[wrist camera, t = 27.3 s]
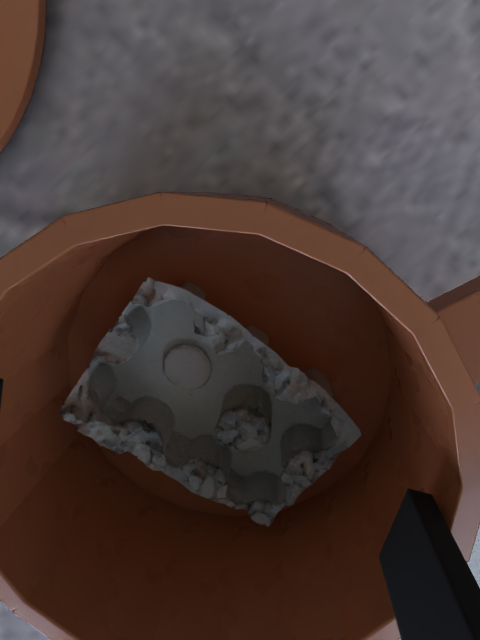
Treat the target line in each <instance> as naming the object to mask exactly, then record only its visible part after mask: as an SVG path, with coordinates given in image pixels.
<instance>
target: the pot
mask: <svg viewBox="0 0 480 640" xmlns="http://www.w3.org/2000/svg"><path fill="white" fill-rule="evenodd" d="M148 278H151V279H153V280H155V281H159V282H162V283H166V284H170V285H174V286H177V287H181V286H182V285H183V284H184V283H185V282H189V283H191V284H194V285H196V286H198V287H199V288H200V289H201V290H202V291H203V292H204V293H205V294H206V296H205V299H204V301H206V302H208V303H209V304H211V305H213V306H215V307H216V308H218V309H220V310H221V311H223V312H225V313H227V314H228V315H230V316H231V317H232V318H234V319H235V320H236V321H237V322H238V323H240V324H241V325H242V326H243V327H244V328H246V327H248V326H250V325H253V326H255V327H257V328H258V329H259V330H261V331H263V332H264V333H265V334H266V335H267V336H268V337H269V341H268V347H269V348H271V349H272V350H273V351H275V352H276V353H277V354H278V355H279V356H280V357H281V358H282V359H283V361H284V362H285V363H286V364H287V365H288V366H290V367H294V368H298V369H300V370H301V371H303V372H305V371H306V370H308V369H310V368H315V369H317V370H318V371H320V372H321V373H323V374H324V375H326V376H327V377H328V378H329V381H330V383H331V388H332V392H333V395H334V401H335V402H336V403H338V404H339V406H340V407H341V408H342V409H343V410H344V411H345V412H346V413H347V414H348V416H349V417H350V418H351V419H352V421H353V422H354V423H355V424H356V426H357V427H358V428H359V430H360V432H361V434H362V435H361V436H360V437H359V438H358V439H357V440H356V441H355V442H354V443H353V444H352V445H351V446H350V447H349V448H348V449H346V450H344V451H342V452H340V453H339V454H338V456H337V458H336V459H335V461H334V463H333V464H332V466H331V468H330V469H329V470H327V471H326V472H325V473H323V474H322V475H321V476H319V477H318V478H317V479H316V481H315V482H314V483H313V484H312V486H309V487H307V488H306V489H304V490H303V491H302V493H301V494H300V495H299V496H298V498H297V499H296V501H295V502H294V504H293V505H291V506H290V507H288V506H287V505H286V506H284V507H283V508H282V509H281V510H280V511H279V512H278V513H277V515H276V516H275V518H274V521H273V522H272V523H271V525H270V526H269V527H268V526H266V525H260V524H258V523H256V522H255V521H253V520H252V519H251V517H250V515H249V513H248V511H247V510H244V509H234V508H231V507H229V506H227V505H226V504H224V503H219V502H215V501H212V500H210V499H207V498H205V497H202V496H200V495H197V494H194V493H192V492H191V491H190V490H188V489H187V488H186V487H185V486H184V485H183V484H181V483H180V482H179V481H177V480H175V479H173V478H171V477H169V476H168V475H166V474H165V473H163V472H162V471H153V470H152V469H150V468H149V467H147V466H146V465H145V464H144V463H143V462H142V461H141V460H140V459H138V458H137V457H136V456H135V455H133V454H132V453H130V452H128V451H126V452H124V453H121V454H118V453H117V452H115V451H113V450H110V449H108V448H106V447H104V446H101V445H99V444H98V443H97V442H96V441H95V440H94V439H93V438H91V437H88V436H85V435H83V434H82V433H80V432H78V431H77V430H76V428H75V425H74V424H72V423H71V422H67V421H65V420H63V418H62V417H61V416H60V415H59V412H60V411H62V410H61V408H62V405H63V403H64V402H65V400H66V399H67V397H68V396H69V395H70V393H71V391H72V389H73V388H74V387H75V385H76V384H77V383H78V381H79V379H80V378H81V376H82V375H83V374H84V372H85V371H86V370H87V368H88V366H89V365H90V363H91V360H92V358H93V355H94V352H95V350H96V348H97V346H98V345H99V343H100V342H101V341H102V339H103V338H104V336H105V335H106V334H107V332H108V331H109V330H110V328H111V329H113V328H114V326H115V324H116V322H117V320H118V319H119V317H120V316H121V314H122V313H123V311H124V310H125V308H126V307H127V305H128V304H129V303H130V302H132V300H133V298H134V296H135V295H136V293H137V292H138V290H139V288H140V287H141V285H142V284H143V282H144V281H145V280H146V279H148ZM0 378H1V379H4V381H3V390H2V400H1V409H0V601H2V602H3V603H4V604H5V606H6V607H7V608H8V609H9V610H10V611H12V613H13V614H15V615H16V616H17V617H19V618H20V619H22V620H23V621H25V622H26V623H27V624H29V625H30V626H32V627H33V628H34V629H36V630H37V631H39V632H40V633H42V634H43V635H44V636H46V637H47V638H49V639H50V640H399V639H400V638H401V636H400V633H399V629H398V626H397V622H396V618H395V615H394V611H393V608H392V604H391V600H390V597H389V593H388V589H387V586H386V582H385V579H384V575H383V571H382V568H381V564H380V561H379V554H380V552H381V550H382V547H383V545H384V543H385V540H386V538H387V536H388V533H389V531H390V529H391V526H392V524H393V522H394V519H395V517H396V515H397V512H398V510H399V508H400V505H401V503H402V501H403V498H404V496H405V494H406V491H407V489H408V488H409V489H413V490H417V491H421V492H424V493H428V494H432V496H433V498H434V500H435V502H436V504H437V506H438V508H439V510H440V512H441V514H442V516H443V518H444V519H445V521H446V523H447V525H448V527H449V529H450V531H451V533H452V535H453V537H454V539H455V541H456V543H457V545H458V547H459V549H460V551H461V553H462V555H463V557H464V559H465V561H466V562H468V561H469V559H470V556H471V553H472V549H473V546H474V542H475V539H476V535H477V532H478V528H479V525H480V394H479V392H478V390H477V388H476V386H475V383H477V382H480V276H479V277H477V278H475V279H473V280H471V281H469V282H467V283H465V284H463V285H461V286H459V287H457V288H455V289H453V290H451V291H449V292H447V293H445V294H443V295H441V296H439V297H437V298H435V299H433V300H431V301H429V302H427V303H426V302H425V301H424V300H423V299H422V298H420V297H419V296H418V295H417V294H416V293H415V292H414V291H413V290H412V289H411V288H410V287H409V286H408V285H407V284H406V283H404V282H403V281H402V280H401V279H400V278H399V277H398V276H397V275H396V274H395V273H394V272H393V271H392V270H391V269H389V268H388V267H387V266H386V265H385V264H384V263H383V262H382V261H381V260H380V259H379V258H378V257H377V256H376V255H375V254H373V253H372V252H371V251H370V250H369V249H368V248H367V247H365V246H364V245H362V244H361V243H359V242H358V241H356V240H354V239H353V238H351V237H350V236H348V235H346V234H345V233H343V232H341V231H340V230H338V229H337V228H335V227H333V226H332V225H330V224H328V223H326V222H324V221H322V220H320V219H317V218H315V217H313V216H311V215H308V214H306V213H304V212H302V211H299V210H297V209H295V208H293V207H290V206H288V205H286V204H284V203H282V202H279V201H277V200H275V199H272V198H263V197H253V196H242V195H232V194H221V193H210V192H157V193H153V194H149V195H145V196H141V197H137V198H133V199H129V200H125V201H121V202H117V203H112V204H108V205H104V206H100V207H96V208H92V209H88V210H84V211H80V212H76V213H72V214H68V215H64V216H63V217H60V218H59V219H57V220H56V221H54V222H53V223H51V224H50V225H48V226H47V227H45V228H44V229H43V230H41V231H40V232H38V233H37V234H35V235H34V236H32V237H31V238H29V239H28V240H26V241H25V242H23V243H22V244H20V245H19V246H17V247H16V248H14V249H13V250H11V251H10V252H9V253H7V254H6V255H4V256H3V257H1V258H0Z"/></svg>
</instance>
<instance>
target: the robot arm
mask: <svg viewBox="0 0 480 640" xmlns="http://www.w3.org/2000/svg"><path fill="white" fill-rule="evenodd" d="M3 381H4V379H1V378H0V409H1V400H2V390H3ZM379 561H380V564H381V568H382V571H383V575H384V579H385V582H386V586H387V589H388V593H389V597H390V600H391V604H392V608H393V611H394V615H395V618H396V622H397V626H398V629H399V633H400V636H401V640H480V588H479V586H478V584H477V582H476V580H475V578H474V576H473V574H472V572H471V570H470V568H469V566H468V564H467V562H466V561H465V559H464V557H463V555H462V553H461V551H460V549H459V547H458V545H457V543H456V541H455V539H454V537H453V535H452V533H451V531H450V529H449V527H448V525H447V523H446V521H445V519H444V518H443V516H442V514H441V512H440V510H439V508H438V506H437V504H436V502H435V500H434V498H433V496H432V494H428V493H424V492H421V491H417V490H413V489H409V488H408V489H407V491H406V494H405V496H404V498H403V501H402V503H401V505H400V508H399V510H398V512H397V515H396V517H395V519H394V522H393V524H392V526H391V529H390V531H389V533H388V536H387V538H386V540H385V543H384V545H383V547H382V550H381V552H380V554H379Z"/></svg>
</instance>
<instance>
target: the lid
mask: <svg viewBox="0 0 480 640" xmlns="http://www.w3.org/2000/svg"><path fill="white" fill-rule="evenodd" d="M45 19H46V0H0V152H1V151H2V149H3V148H4V147H5V146H6V144H7V143H8V141H9V139H10V138H11V136H12V134H13V133H14V131H15V130H16V128H17V126H18V125H19V123H20V121H21V119H22V116H23V114H24V112H25V110H26V107H27V105H28V103H29V100H30V98H31V95H32V92H33V88H34V85H35V82H36V78H37V75H38V72H39V68H40V62H41V56H42V50H43V44H44V38H45Z"/></svg>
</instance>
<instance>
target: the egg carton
mask: <svg viewBox="0 0 480 640" xmlns="http://www.w3.org/2000/svg"><path fill="white" fill-rule="evenodd" d="M205 296H206V294H205V293H204V292H203V291H202V290H201V289H200V288H199V287H198V286H196V285H194V284H191V283H189V282H185V283H184V284H183V285H182V286H181V287H177V286H174V285H170V284H166V283H162V282H159V281H155V280H153V279H151V278H148V279H146V280H145V281H144V282H143V284H142V285H141V287H140V288H139V290H138V292H137V293H136V295H135V296H134V298H133V300H132V302H130V303H129V304H128V305H127V307H126V308H125V310H124V311H123V313H122V314H121V316H120V317H119V319H118V320H117V322H116V324H115V326H114V328H113V329H111V328H110V330H109V331H108V332H107V334H106V335H105V336H104V338H103V339H102V341H101V342H100V343H99V345H98V346H97V348H96V350H95V352H94V355H93V358H92V360H91V363H90V365H89V366H88V368H87V370H86V371H85V372H84V374H83V375H82V376H81V378H80V379H79V381H78V383H77V384H76V385H75V387H74V388H73V389H72V391H71V393H70V395H69V396H68V397H67V399H66V400H65V402H64V403H63V405H62V408H61V410H62V411H60V412H59V415H60V416H61V417H62V418H63V420H65V421H67V422H71V423H72V424H74V425H75V428H76V430H77V431H78V432H80V433H82V434H83V435H85V436H88V437H91V438H93V439H94V440H95V441H96V442H97V443H98V444H99V445H101V446H104V447H106V448H108V449H110V450H113V451H115V452H117V453H118V454H121V453H124V452H126V451H128V452H130V453H132V454H133V455H135V456H136V457H137V458H138V459H140V460H141V461H142V462H143V463H144V464H145V465H146V466H147V467H149V468H150V469H152V470H153V471H162V472H163V473H165V474H166V475H168V476H169V477H171V478H173V479H175V480H177V481H179V482H180V483H181V484H183V485H184V486H185V487H186V488H187V489H188V490H190V491H191V492H192V493H194V494H197V495H200V496H202V497H205V498H207V499H210V500H212V501H215V502H219V503H224V504H226V505H227V506H229V507H231V508H234V509H244V510H247V511H248V513H249V515H250V517H251V519H252V520H253V521H255V522H256V523H258V524H260V525H266V526H268V527H269V526H270V525H271V523H272V522H273V521H274V518H275V516H276V515H277V513H278V512H279V511H280V510H281V509H282V508H283V507H284V506H286V505H287V506H288V507H290V506H291V505H293V504H294V502H295V501H296V499H297V498H298V496H299V495H300V494H301V493H302V491H303V490H304V489H306V488H307V487H309V486H312V484H313V483H314V482H315V481H316V479H317V478H318V477H319V476H321V475H322V474H323V473H325V472H326V471H327V470H329V469H330V468H331V466H332V464H333V463H334V461H335V459H336V458H337V456H338V454H339V453H340V452H342V451H344V450H346V449H348V448H349V447H350V446H351V445H352V444H353V443H354V442H355V441H356V440H357V439H358V438H359V437H360V436H361V435H362V434H361V432H360V430H359V428H358V427H357V426H356V424H355V423H354V422H353V421H352V419H351V418H350V417H349V416H348V414H347V413H346V412H345V411H344V410H343V409H342V408H341V407H340V406H339V404H338V403H336V402H335V401H334V395H333V392H332V388H331V383H330V381H329V378H328V377H327V376H326V375H324V374H323V373H321V372H320V371H318V370H317V369H315V368H310V369H308V370H306V371H305V372H303V371H301V370H300V369H298V368H294V367H290V366H288V365H287V364H286V363H285V362H284V361H283V359H282V358H281V357H280V356H279V355H278V354H277V353H276V352H275V351H273V350H272V349H271V348H269V347H268V341H269V337H268V336H267V335H266V334H265V333H264V332H263V331H261V330H259V329H258V328H257V327H255V326H253V325H250V326H248V327H246V328H244V327H243V326H242V325H241V324H240V323H238V322H237V321H236V320H235V319H234V318H232V317H231V316H230V315H228V314H227V313H225V312H223V311H221V310H220V309H218V308H216V307H215V306H213V305H211V304H209V303H208V302H206V301H204V299H205Z"/></svg>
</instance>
